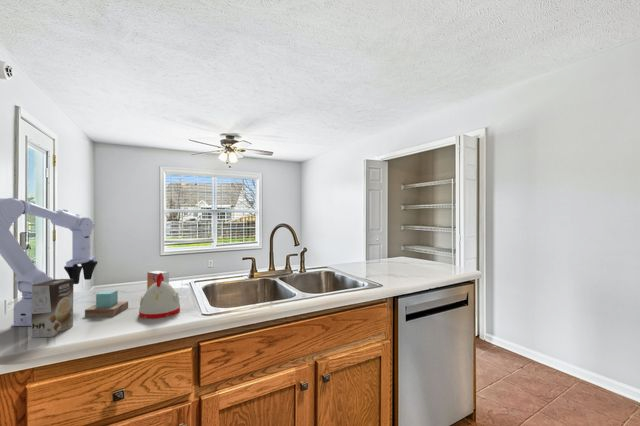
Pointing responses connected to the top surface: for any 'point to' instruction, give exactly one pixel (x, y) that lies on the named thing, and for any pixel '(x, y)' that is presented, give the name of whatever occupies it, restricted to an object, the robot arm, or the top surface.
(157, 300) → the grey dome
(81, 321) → the top surface
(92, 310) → the walnut block
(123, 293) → the top surface
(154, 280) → the small box
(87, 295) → the top surface
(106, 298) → the teal cube
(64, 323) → the coffee box
